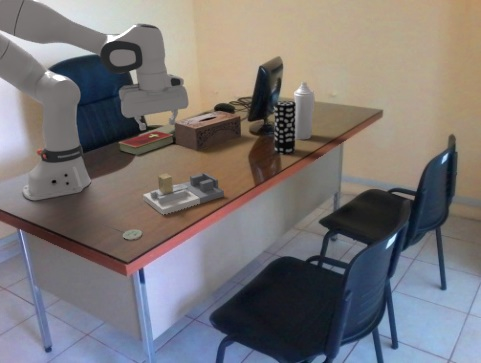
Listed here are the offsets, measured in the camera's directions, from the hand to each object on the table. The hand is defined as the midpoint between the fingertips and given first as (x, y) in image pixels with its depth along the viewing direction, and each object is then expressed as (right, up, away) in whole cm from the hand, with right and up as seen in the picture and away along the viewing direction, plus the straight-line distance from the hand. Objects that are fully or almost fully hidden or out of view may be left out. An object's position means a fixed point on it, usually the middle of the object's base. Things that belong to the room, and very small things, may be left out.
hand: (157, 126), depth 142 cm
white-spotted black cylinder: (+43, -4, +49) cm, 66 cm away
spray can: (+53, +3, +65) cm, 84 cm away
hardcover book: (-15, -2, +61) cm, 63 cm away
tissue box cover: (+11, +1, +66) cm, 67 cm away
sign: (-9, -31, -10) cm, 34 cm away
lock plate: (+7, -22, +9) cm, 25 cm away
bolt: (+4, -21, +6) cm, 22 cm away
